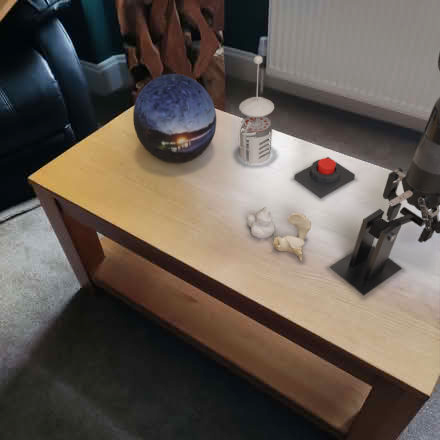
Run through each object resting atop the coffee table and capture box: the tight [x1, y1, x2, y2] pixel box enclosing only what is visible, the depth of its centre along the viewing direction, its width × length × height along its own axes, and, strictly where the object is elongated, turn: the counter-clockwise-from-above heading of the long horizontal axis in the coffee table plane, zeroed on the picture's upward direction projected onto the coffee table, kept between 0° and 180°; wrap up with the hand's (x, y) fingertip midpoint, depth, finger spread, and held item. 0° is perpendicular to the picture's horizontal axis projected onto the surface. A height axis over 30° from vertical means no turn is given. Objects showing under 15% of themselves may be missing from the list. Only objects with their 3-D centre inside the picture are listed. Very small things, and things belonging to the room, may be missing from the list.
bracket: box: [329, 208, 403, 297], centre depth 81 cm, size 11×9×14 cm
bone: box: [272, 212, 312, 262], centre depth 88 cm, size 9×6×10 cm
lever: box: [368, 206, 425, 240], centre depth 80 cm, size 13×5×2 cm, turn 126°
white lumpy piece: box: [246, 206, 276, 239], centre depth 91 cm, size 5×7×8 cm
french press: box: [237, 55, 275, 165], centre depth 100 cm, size 10×12×25 cm
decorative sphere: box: [132, 73, 217, 164], centre depth 104 cm, size 20×20×20 cm
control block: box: [293, 156, 356, 200], centre depth 102 cm, size 11×9×4 cm
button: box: [317, 157, 336, 175], centre depth 100 cm, size 4×4×2 cm
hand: (406, 229), depth 85 cm, fingers open, 7 cm apart
